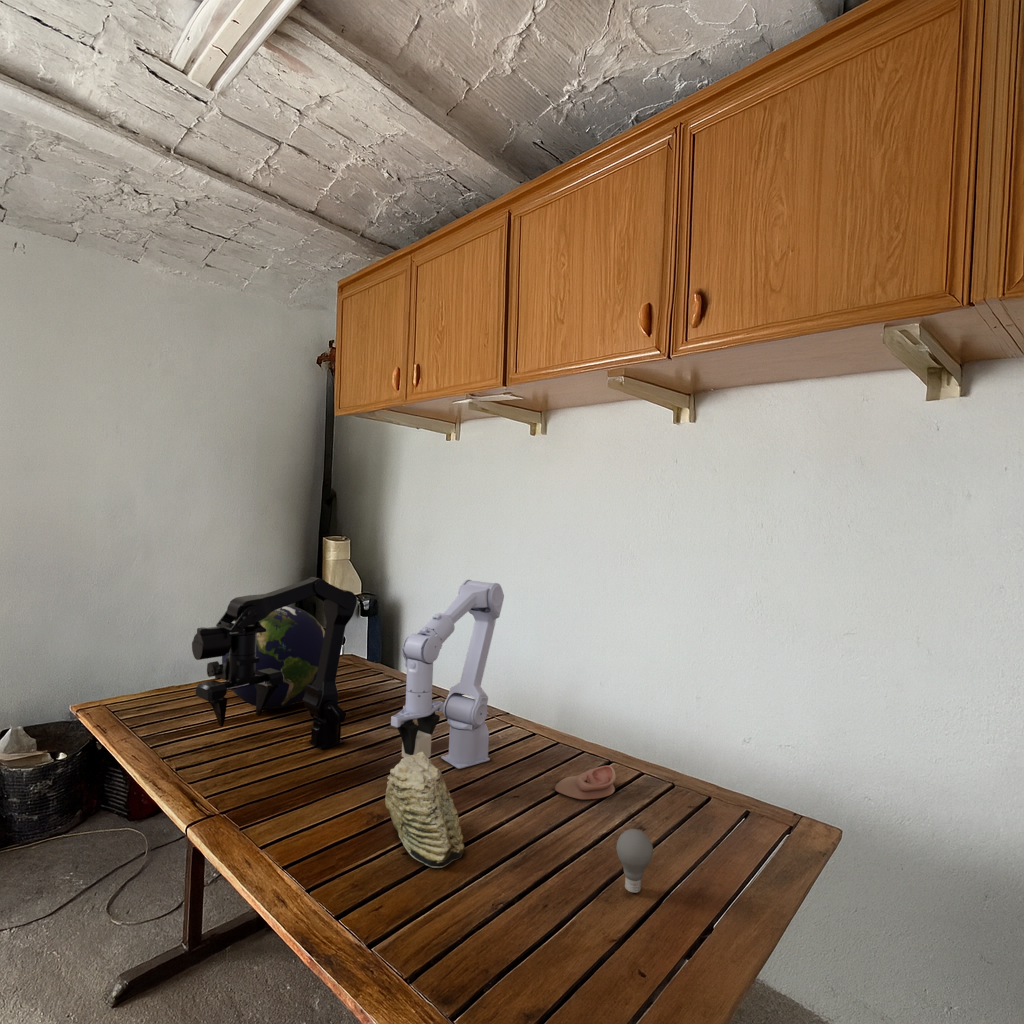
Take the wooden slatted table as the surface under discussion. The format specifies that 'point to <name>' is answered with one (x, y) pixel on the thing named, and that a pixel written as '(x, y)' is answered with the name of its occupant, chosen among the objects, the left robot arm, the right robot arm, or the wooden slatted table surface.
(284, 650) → the globe
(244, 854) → the wooden slatted table surface
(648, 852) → the light bulb
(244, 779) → the wooden slatted table surface
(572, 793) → the anatomical model
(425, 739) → the beige cube
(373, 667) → the wooden slatted table surface
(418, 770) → the fossil
